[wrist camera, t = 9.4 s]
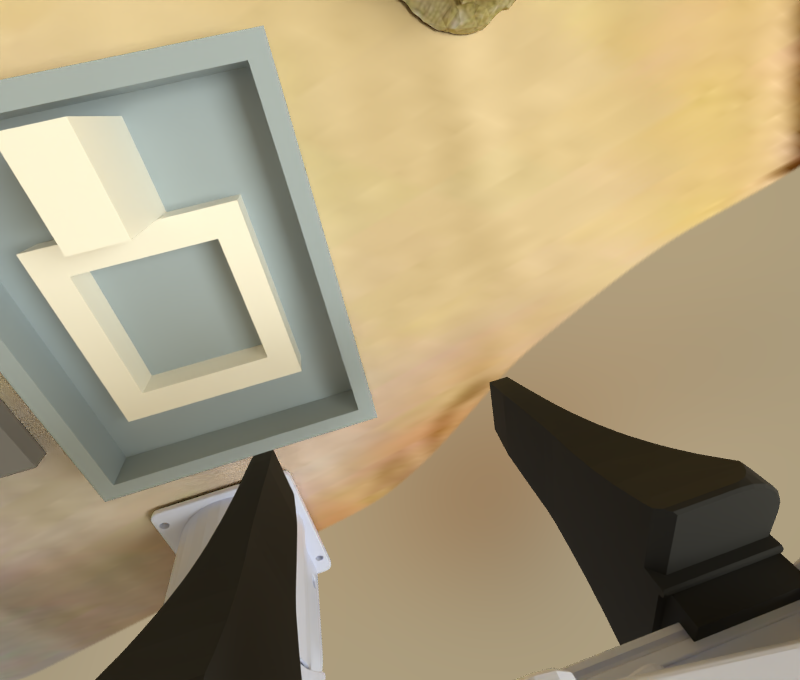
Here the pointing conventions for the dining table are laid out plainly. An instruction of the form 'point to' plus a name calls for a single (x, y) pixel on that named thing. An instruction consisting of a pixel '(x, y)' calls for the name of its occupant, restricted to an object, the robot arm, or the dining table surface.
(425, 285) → the dining table surface
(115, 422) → the tray
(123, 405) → the square frame with tab
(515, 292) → the dining table surface
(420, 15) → the ceramic model
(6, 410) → the plate
